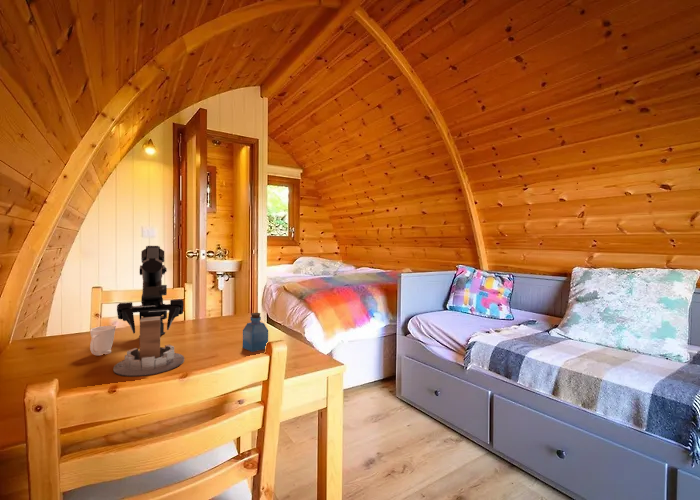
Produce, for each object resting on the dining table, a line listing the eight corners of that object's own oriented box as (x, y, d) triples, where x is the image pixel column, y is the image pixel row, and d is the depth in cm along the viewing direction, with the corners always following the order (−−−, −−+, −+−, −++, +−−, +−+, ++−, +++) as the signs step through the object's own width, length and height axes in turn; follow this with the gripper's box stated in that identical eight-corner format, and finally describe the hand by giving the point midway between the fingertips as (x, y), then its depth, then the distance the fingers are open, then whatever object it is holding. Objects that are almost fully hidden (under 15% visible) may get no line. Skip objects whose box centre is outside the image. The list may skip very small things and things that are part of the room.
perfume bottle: (268, 348, 116) (268, 313, 116) (252, 352, 112) (252, 316, 112) (258, 344, 121) (258, 311, 120) (242, 347, 116) (243, 313, 116)
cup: (120, 349, 112) (120, 325, 112) (104, 359, 103) (104, 333, 102) (97, 349, 111) (97, 325, 111) (78, 360, 101) (78, 334, 101)
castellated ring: (96, 374, 91) (96, 359, 91) (142, 352, 109) (142, 340, 109) (159, 378, 90) (159, 363, 90) (195, 355, 108) (195, 342, 107)
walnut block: (141, 360, 100) (141, 317, 100) (160, 358, 103) (160, 316, 102) (139, 366, 96) (139, 321, 96) (159, 363, 98) (159, 319, 98)
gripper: (117, 277, 106) (113, 320, 96) (183, 275, 115) (185, 314, 106) (120, 298, 113) (116, 339, 103) (181, 295, 122) (183, 332, 113)
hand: (151, 331), depth 106 cm, fingers open, 9 cm apart
